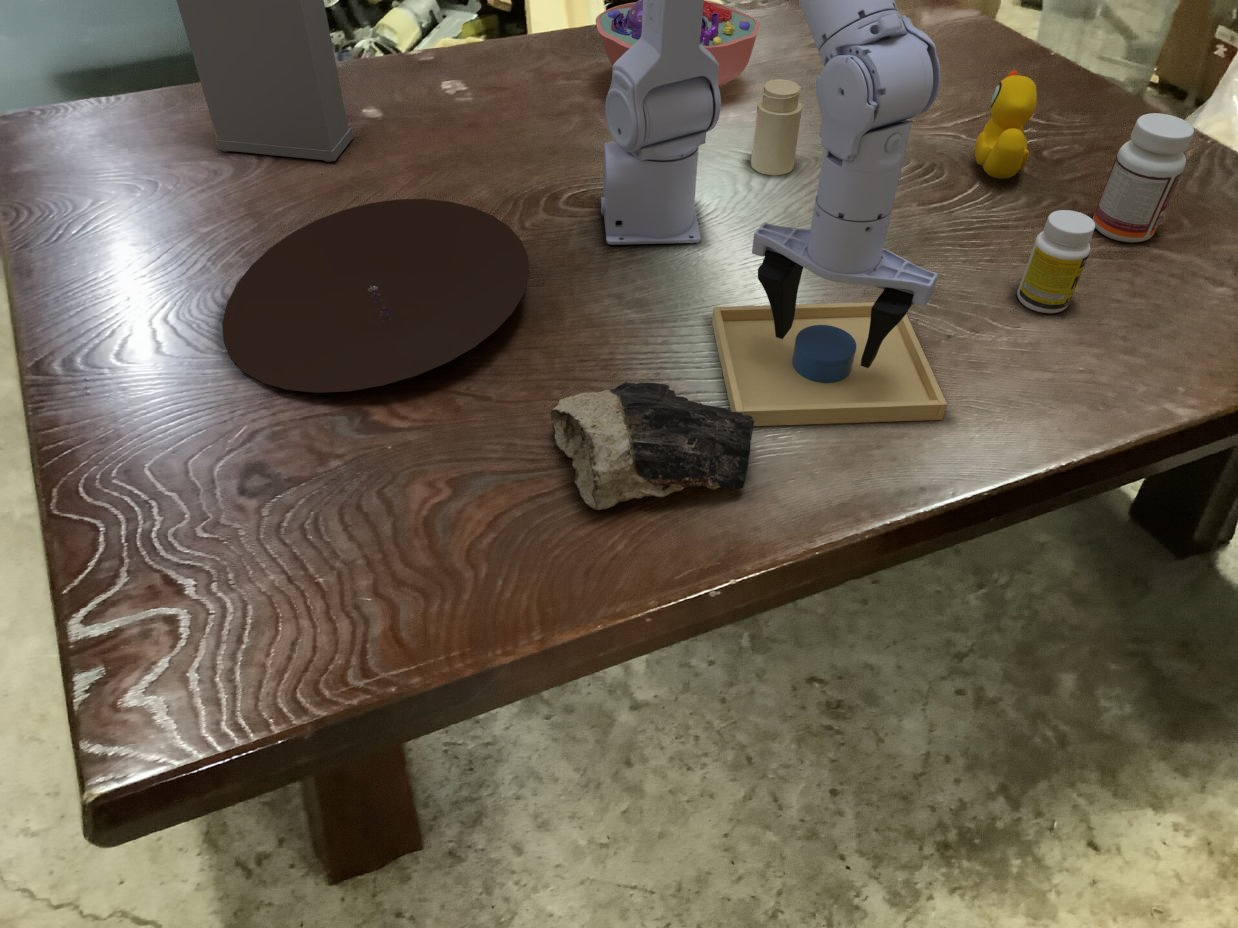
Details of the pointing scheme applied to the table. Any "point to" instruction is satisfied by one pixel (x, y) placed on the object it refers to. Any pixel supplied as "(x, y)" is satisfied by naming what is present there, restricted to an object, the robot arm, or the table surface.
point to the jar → (776, 128)
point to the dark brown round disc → (374, 295)
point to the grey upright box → (268, 76)
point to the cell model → (720, 35)
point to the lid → (823, 353)
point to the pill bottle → (1143, 178)
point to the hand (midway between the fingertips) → (825, 346)
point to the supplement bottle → (1056, 262)
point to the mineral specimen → (649, 443)
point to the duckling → (1007, 127)
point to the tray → (787, 398)
